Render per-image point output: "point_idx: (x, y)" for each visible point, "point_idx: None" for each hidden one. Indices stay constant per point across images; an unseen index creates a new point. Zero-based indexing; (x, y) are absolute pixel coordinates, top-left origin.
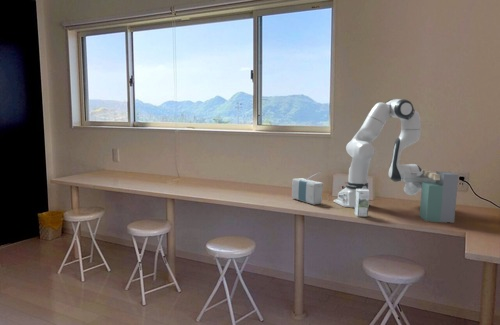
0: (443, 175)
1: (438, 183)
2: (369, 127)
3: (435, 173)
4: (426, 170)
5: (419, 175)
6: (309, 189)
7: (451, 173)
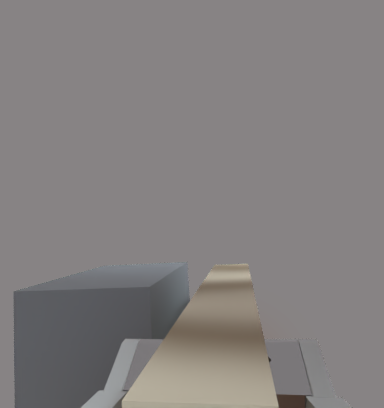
0: (186, 273)
1: None
2: None
3: (216, 274)
4: (209, 334)
5: None
6: None
7: (106, 271)
